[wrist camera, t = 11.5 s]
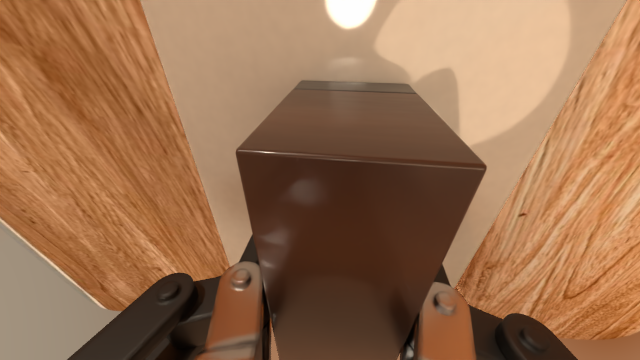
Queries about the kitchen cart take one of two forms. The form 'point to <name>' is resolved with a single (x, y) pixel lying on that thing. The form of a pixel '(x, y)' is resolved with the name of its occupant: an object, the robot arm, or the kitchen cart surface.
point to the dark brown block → (352, 214)
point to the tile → (377, 79)
